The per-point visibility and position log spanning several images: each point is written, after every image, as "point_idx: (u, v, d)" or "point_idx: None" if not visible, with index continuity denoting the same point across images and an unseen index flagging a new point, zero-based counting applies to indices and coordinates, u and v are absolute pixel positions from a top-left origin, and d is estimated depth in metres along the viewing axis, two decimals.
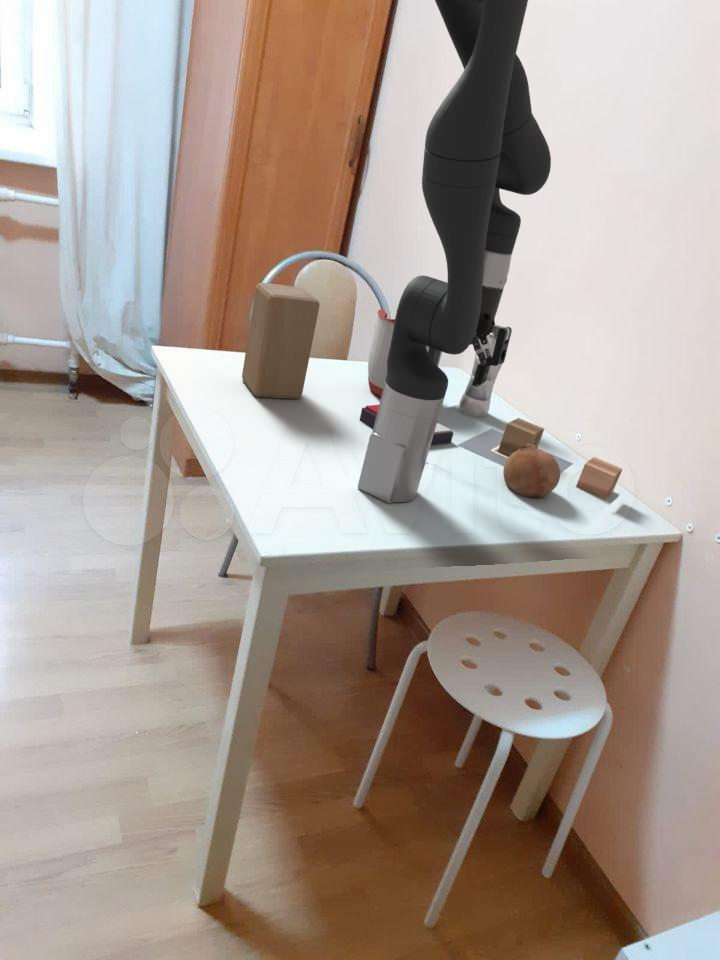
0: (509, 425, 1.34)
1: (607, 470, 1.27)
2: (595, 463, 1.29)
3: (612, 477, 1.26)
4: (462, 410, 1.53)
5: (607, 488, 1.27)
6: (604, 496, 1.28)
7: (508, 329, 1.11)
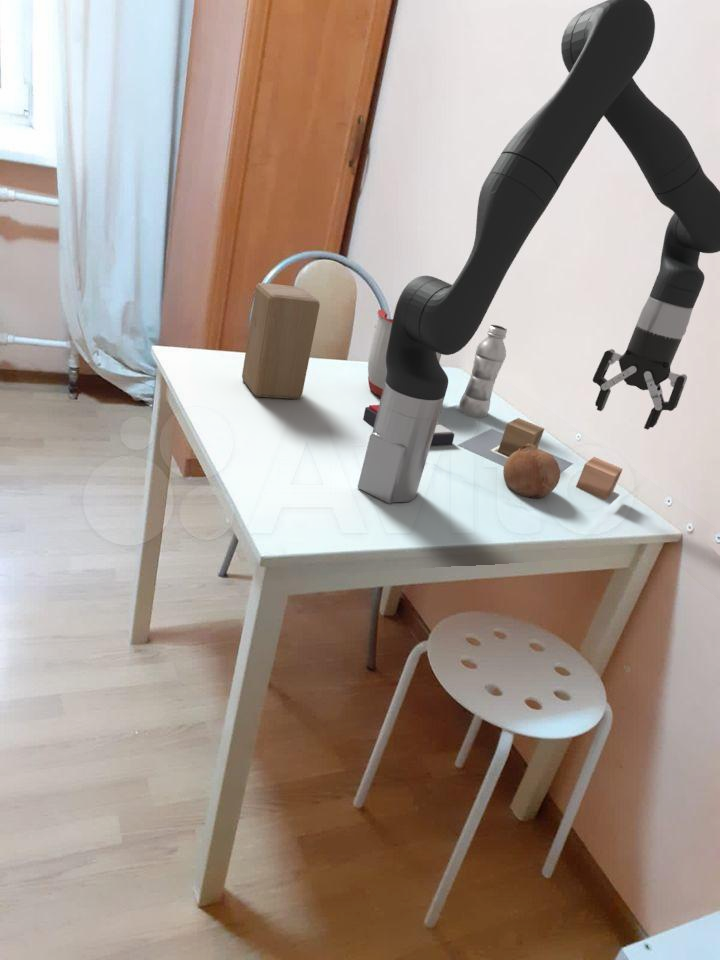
0: (509, 425, 1.34)
1: (607, 470, 1.27)
2: (595, 463, 1.29)
3: (612, 477, 1.26)
4: (462, 410, 1.53)
5: (607, 488, 1.27)
6: (604, 496, 1.28)
7: (685, 377, 1.18)
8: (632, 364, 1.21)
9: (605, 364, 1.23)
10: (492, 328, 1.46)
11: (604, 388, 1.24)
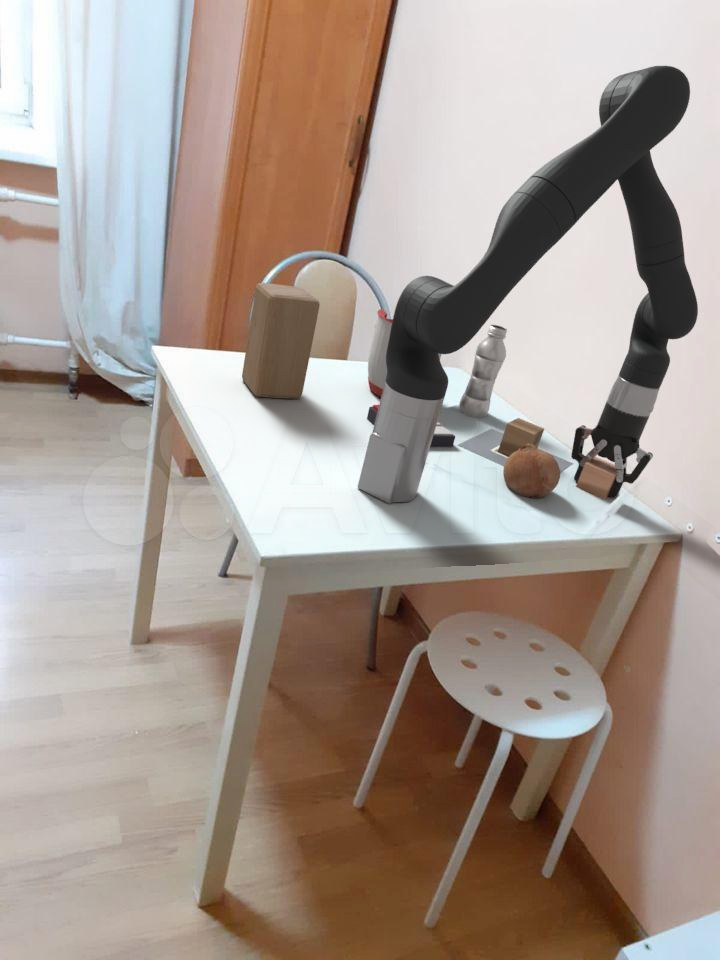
0: (509, 425, 1.34)
1: (607, 470, 1.27)
2: (595, 463, 1.29)
3: (612, 477, 1.26)
4: (462, 410, 1.53)
5: (607, 488, 1.27)
6: (604, 496, 1.28)
7: (651, 456, 1.24)
8: (602, 438, 1.27)
9: (579, 440, 1.29)
10: (492, 328, 1.46)
11: (582, 464, 1.30)
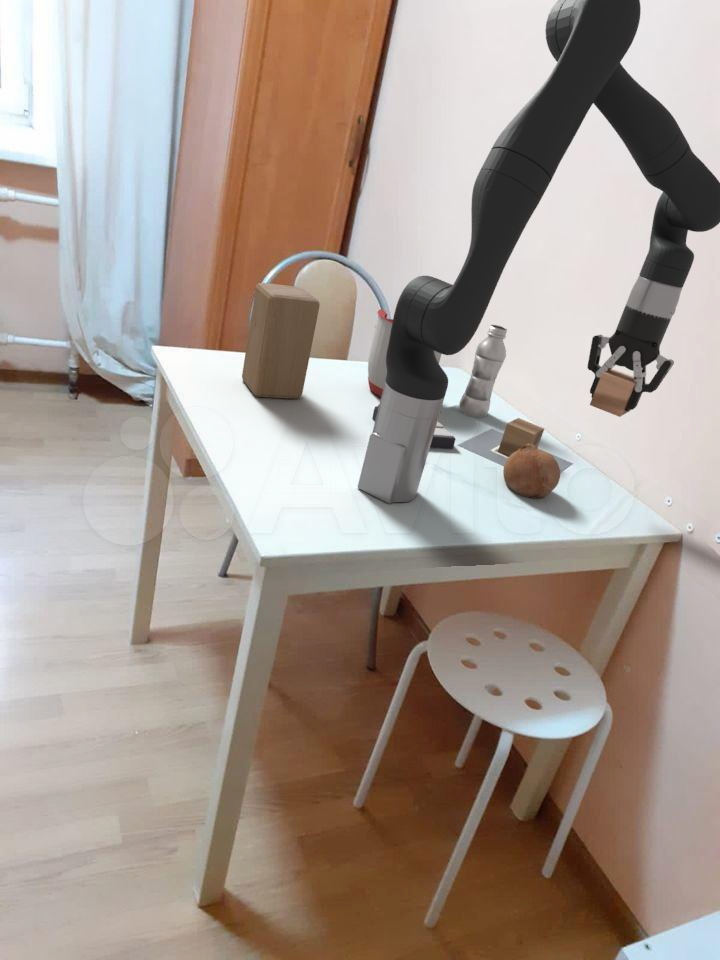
0: (509, 425, 1.34)
1: (625, 379, 1.21)
2: (613, 373, 1.23)
3: (631, 385, 1.20)
4: (462, 410, 1.53)
5: (625, 397, 1.21)
6: (622, 406, 1.21)
7: (672, 362, 1.18)
8: (620, 345, 1.21)
9: (596, 349, 1.23)
10: (492, 328, 1.46)
11: (599, 375, 1.24)
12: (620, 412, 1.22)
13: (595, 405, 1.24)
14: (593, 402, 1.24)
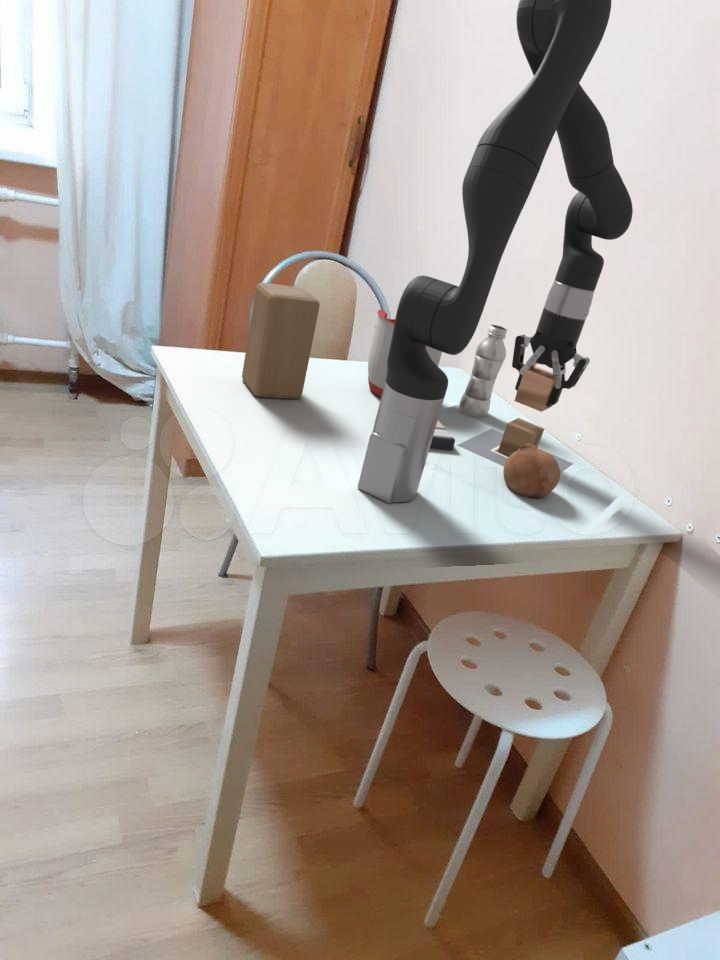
0: (509, 425, 1.34)
1: (546, 376, 1.29)
2: (535, 371, 1.31)
3: (550, 382, 1.28)
4: (462, 410, 1.53)
5: (546, 393, 1.29)
6: (543, 402, 1.30)
7: (587, 360, 1.26)
8: (540, 344, 1.29)
9: (519, 349, 1.31)
10: (492, 328, 1.46)
11: (522, 373, 1.32)
12: (542, 407, 1.30)
13: (519, 401, 1.32)
14: (517, 398, 1.32)
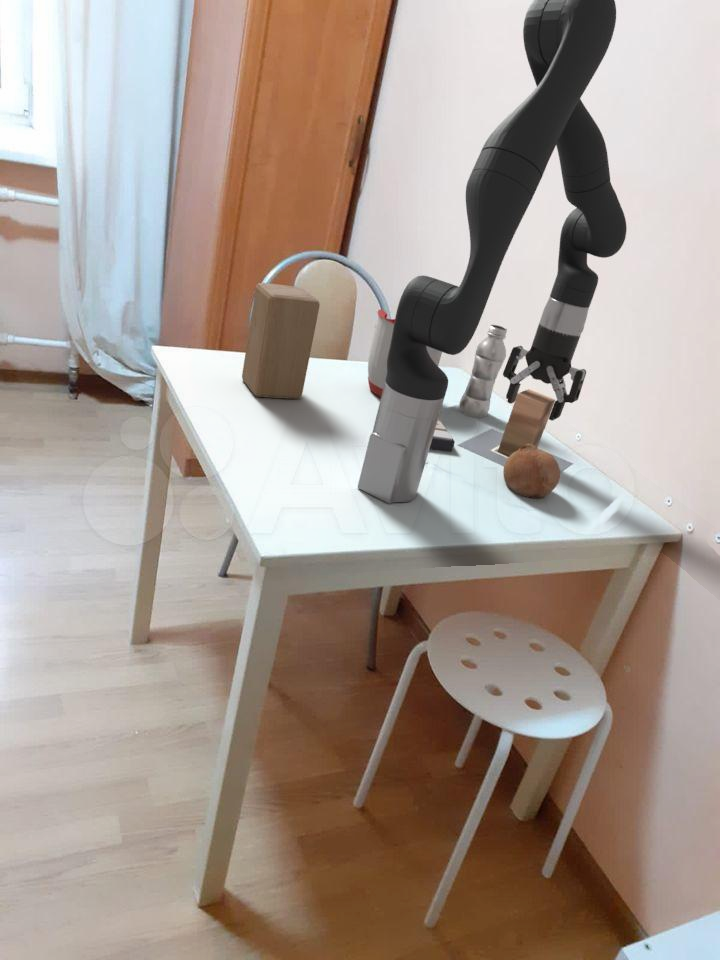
0: (509, 425, 1.34)
1: (538, 400, 1.31)
2: (528, 394, 1.33)
3: (543, 405, 1.30)
4: (462, 410, 1.53)
5: (538, 417, 1.31)
6: (536, 425, 1.31)
7: (584, 371, 1.27)
8: (537, 359, 1.30)
9: (513, 359, 1.32)
10: (492, 328, 1.46)
11: (513, 382, 1.33)
12: (534, 430, 1.32)
13: (512, 423, 1.34)
14: (510, 421, 1.34)
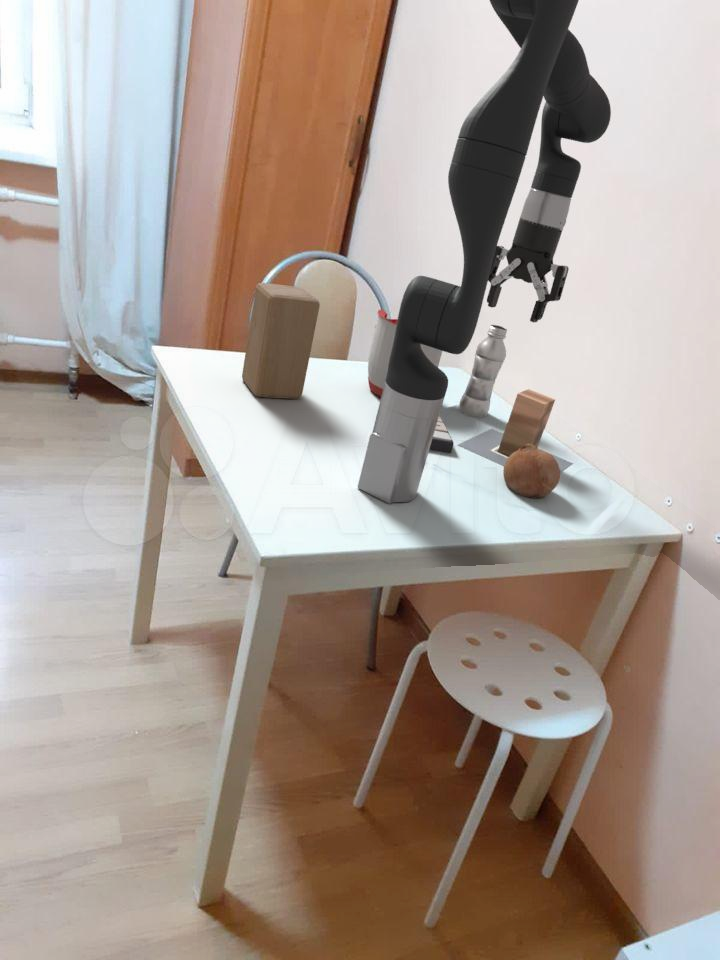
0: (509, 425, 1.34)
1: (538, 400, 1.31)
2: (528, 394, 1.33)
3: (543, 405, 1.30)
4: (462, 410, 1.53)
5: (538, 417, 1.31)
6: (536, 425, 1.31)
7: (566, 267, 1.22)
8: (517, 257, 1.25)
9: (494, 259, 1.27)
10: (492, 328, 1.46)
11: (493, 283, 1.28)
12: (534, 430, 1.32)
13: (512, 423, 1.34)
14: (510, 421, 1.34)
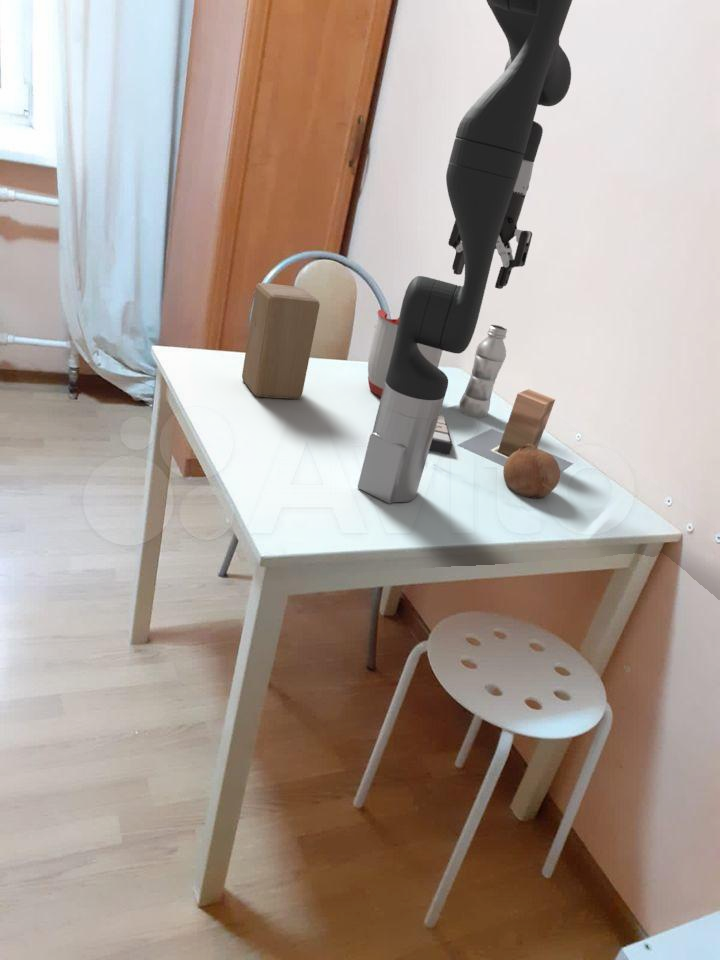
0: (509, 425, 1.34)
1: (538, 400, 1.31)
2: (528, 394, 1.33)
3: (543, 405, 1.30)
4: (462, 410, 1.53)
5: (538, 417, 1.31)
6: (536, 425, 1.31)
7: (529, 232, 1.22)
8: None
9: None
10: (492, 328, 1.46)
11: (458, 250, 1.28)
12: (534, 430, 1.32)
13: (512, 423, 1.34)
14: (510, 421, 1.34)
